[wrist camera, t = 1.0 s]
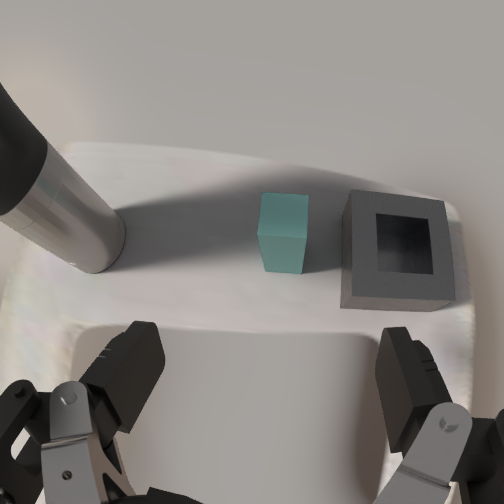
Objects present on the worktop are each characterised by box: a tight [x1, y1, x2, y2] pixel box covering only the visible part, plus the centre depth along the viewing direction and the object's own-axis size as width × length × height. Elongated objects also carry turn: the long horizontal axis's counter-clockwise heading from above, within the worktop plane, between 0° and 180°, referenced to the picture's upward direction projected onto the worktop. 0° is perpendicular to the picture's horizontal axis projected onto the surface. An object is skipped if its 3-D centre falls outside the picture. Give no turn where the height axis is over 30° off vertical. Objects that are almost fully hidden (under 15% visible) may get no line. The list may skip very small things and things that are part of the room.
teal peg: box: [257, 192, 309, 274], centre depth 30 cm, size 4×4×10 cm
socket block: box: [340, 190, 455, 312], centre depth 30 cm, size 11×11×6 cm
